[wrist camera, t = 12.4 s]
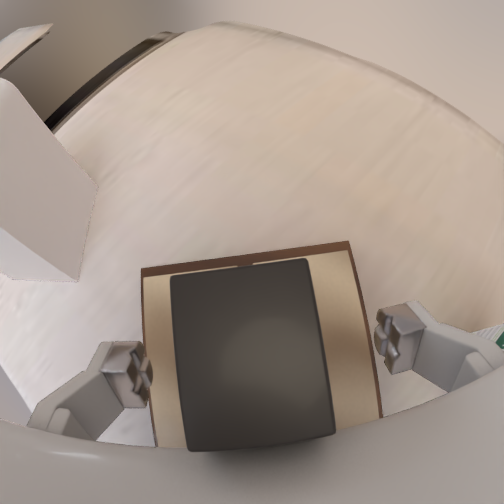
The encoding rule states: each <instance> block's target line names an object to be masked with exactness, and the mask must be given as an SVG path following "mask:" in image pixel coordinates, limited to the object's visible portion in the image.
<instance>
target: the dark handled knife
mask: <svg viewBox="0 0 504 504" xmlns="http://www.w3.org/2000/svg"><path fill="white" fill-rule="evenodd" d="M169 281H170V301H171V317H172V331H173V343H174V354H175V364H176V374H177V383H178V391H179V399H180V407H181V414H182V421H183V427H184V434H185V440H186V446H187V449H188V451H190V452H217V451H233V450H245V449H255V448H263V447H271V446H278V445H285V444H291V443H297V442H302V441H308V440H313V439H318V438H322V437H327V436H331V435H333V434H335V433H336V422H335V414H334V406H333V399H332V392H331V385H330V379H329V372H328V366H327V359H326V353H325V347H324V341H323V335H322V330H321V324H320V319H319V313H318V308H317V302H316V297H315V292H314V287H313V282H312V277H311V272H310V267H309V262H308V260H307V259H306V258H298V259H291V260H284V261H276V262H269V263H262V264H254V265H247V266H239V267H232V268H224V269H217V270H209V271H201V272H193V273H186V274H178V275H172V276H170V280H169Z"/></svg>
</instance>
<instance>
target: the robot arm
mask: <svg viewBox="0 0 504 504" xmlns="http://www.w3.org/2000/svg"><path fill="white" fill-rule="evenodd" d="M376 320H377V321H378V322H379V324H378V326H377V327H376V328H375V332H374V342H375V346H376V349H377V351H378V353H379V354H380V355H382V356H384V357H385V360H384V363H385V365H386V366H387V368H388V370H389V372H390V373H391V375H393V374H397V373H400V372H404V371H407V370H411V369H412V370H413V371H415V372H416V373H418V374H419V375H421V376H423V377H424V378H426V379H427V380H429V381H431V382H432V383H434V384H435V385H437V386H439V387H440V388H442V389H444V390H445V391H447V392H448V393H447V394H445V395H443V396H440V397H438V398H435V399H433V400H431V401H428V402H426V403H423V404H420V405H418V406H415V407H412V408H410V409H407V410H404V411H401V412H398V413H395V414H392V415H389V416H386V417H383V418H380V419H377V420H373V421H370V422H366V423H363V424H359V425H355V426H352V427H348V428H344V429H340V430H336V433H335V434H333V435H331V436H327V437H322V438H318V439H313V440H308V441H302V442H297V443H291V444H285V445H278V446H271V447H263V448H255V449H245V450H233V451H217V452H190V451H188V449H187V448H172V447H148V446H134V445H123V444H114V443H105V442H98V441H96V440H97V439H98V438H99V436H100V435H101V434H102V433H103V432H104V431H105V430H106V429H107V428H108V427H109V426H110V424H111V423H112V422H113V421H114V420H115V419H116V418H117V417H118V416H119V415H120V414H121V412H122V411H123V410H124V408H146V406H147V402H148V398H149V392H148V390H147V389H148V388H149V387H150V386H151V385H152V381H153V369H152V365H151V362H150V360H149V359H148V358H147V357H145V356H144V353H145V348H144V346H143V344H142V342H140V341H115V342H102V343H100V345H99V347H98V348H97V350H96V352H95V354H94V356H93V358H92V360H91V362H90V364H89V366H88V368H87V370H86V371H82V372H81V373H79V374H78V375H76V376H75V377H74V378H72V379H71V380H69V381H68V382H67V383H65V384H64V385H62V386H61V387H60V388H58V389H57V390H55V391H54V392H53V393H51V394H50V395H48V396H47V397H46V398H44V399H43V400H41V401H40V402H39V403H38V404H37V406H36V408H35V410H34V411H33V413H32V415H31V417H30V420H29V421H28V424H27V426H23V425H20V424H16V423H13V422H10V421H7V420H4V419H1V418H0V504H504V351H503V350H502V349H501V348H500V347H499V346H498V345H497V344H496V343H495V342H494V341H492V340H489V339H486V338H483V337H481V336H478V335H475V334H472V333H469V332H467V331H464V330H461V329H458V328H456V327H453V326H450V325H447V324H445V323H440V324H439V323H438V322H437V321H436V320H435V319H434V317H433V316H432V315H431V314H430V313H429V312H428V311H427V310H426V309H425V308H424V307H423V306H422V305H421V304H420V303H419V301H417V300H413V301H409V302H405V303H403V304H399V305H395V306H391V307H386V308H382V309H379V310H378V312H377V317H376Z"/></svg>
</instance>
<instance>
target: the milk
mask: <svg viewBox="0 0 504 504" xmlns="http://www.w3.org/2000/svg"><path fill="white" fill-rule="evenodd" d="M97 191H98V186H97V185H96V184H95V182H94V181H93V180H92V179H91V178H90V177H89V176H88V175H87V173H86V172H85V171H84V170H83V169H82V168H81V167H80V165H79V164H78V163H77V162H76V161H75V160H74V159H73V157H72V156H71V155H70V154H69V153H68V152H67V150H66V149H65V148H64V147H63V146H62V144H61V143H60V142H59V141H58V140H57V138H56V137H55V136H54V135H53V134H52V132H51V131H50V130H49V129H48V127H47V126H46V125H45V124H44V122H43V121H42V120H41V119H40V117H39V116H38V115H37V114H36V112H35V111H34V110H33V109H32V107H31V106H30V105H29V103H28V102H27V101H26V99H25V98H24V97H23V96H22V94H21V93H20V92H19V90H18V89H17V88H16V87H15V86H14V85H13V84H12V83H10V82H9V81H7V80H5V79H2V78H0V272H1V273H3V274H4V275H6V276H7V277H9V278H11V279H12V280H26V281H55V282H78V280H79V273H80V267H81V261H82V256H83V251H84V246H85V241H86V236H87V231H88V227H89V222H90V218H91V214H92V210H93V206H94V202H95V198H96V195H97Z"/></svg>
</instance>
